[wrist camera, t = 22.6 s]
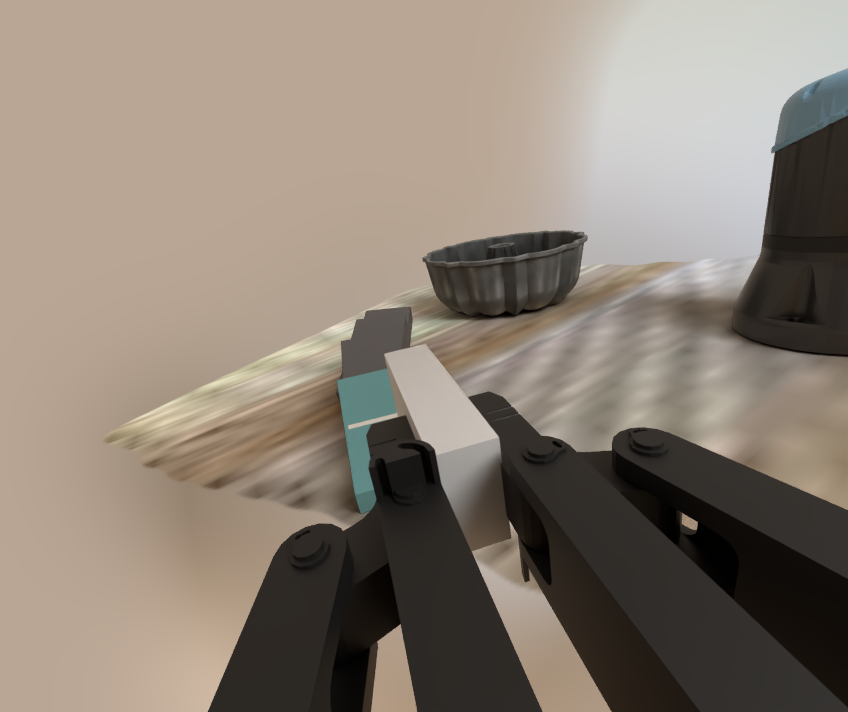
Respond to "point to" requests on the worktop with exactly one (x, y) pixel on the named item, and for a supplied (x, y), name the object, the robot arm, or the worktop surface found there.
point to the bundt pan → (507, 272)
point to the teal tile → (364, 425)
